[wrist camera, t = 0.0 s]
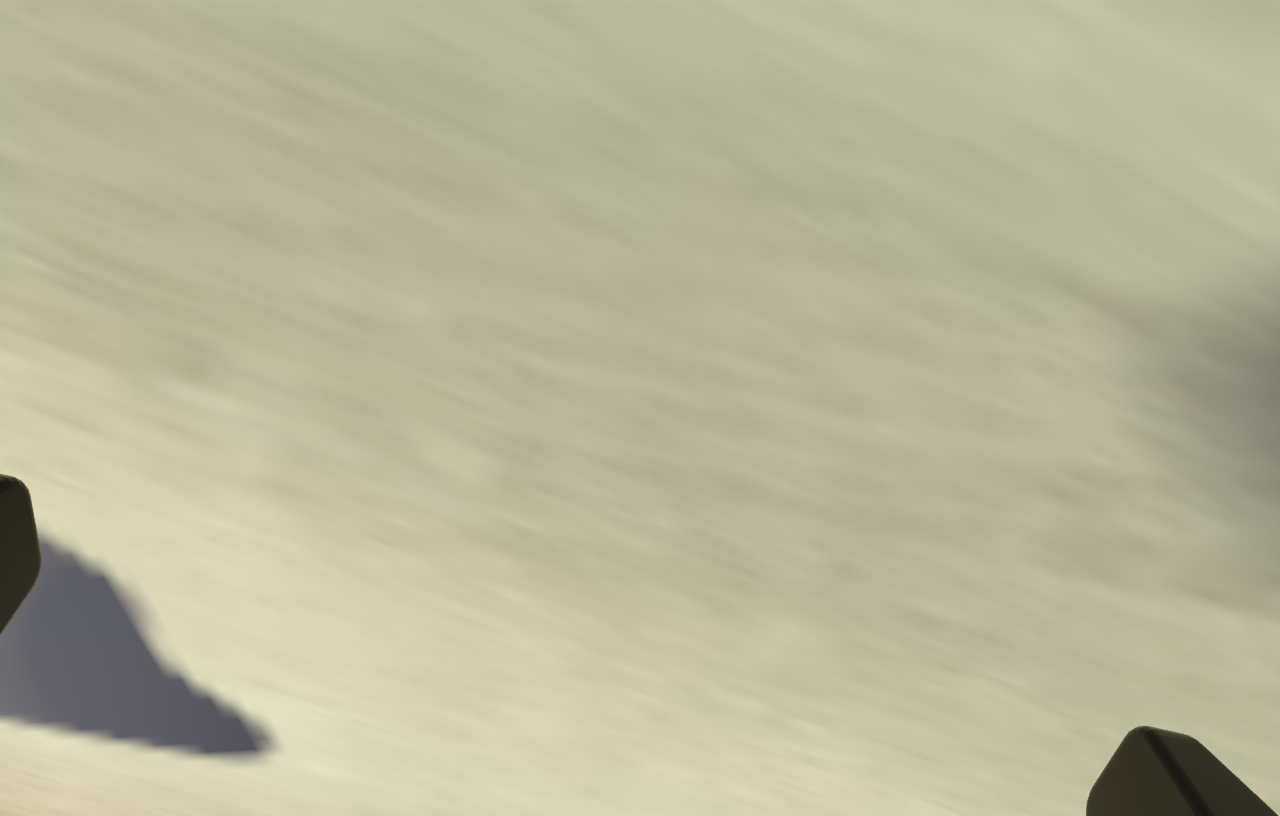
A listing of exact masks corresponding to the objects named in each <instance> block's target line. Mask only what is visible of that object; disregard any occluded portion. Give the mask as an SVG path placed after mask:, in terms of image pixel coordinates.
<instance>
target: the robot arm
mask: <svg viewBox="0 0 1280 816" xmlns="http://www.w3.org/2000/svg"><path fill="white" fill-rule="evenodd" d="M40 568H41V550H40V545H39V540H38V534H37V529H36V523H35V518H34V513H33V507H32V502H31V496H30V493H29V490H28V488H27V487H26V486H25V484H24V483H23V482H22V481H21V480H19V479H17V478H15V477H12V476H7V475H3V474H0V635H1V634H2V632H3V631H4V630H5V628H6V627H7V625H8V624H9V622H10V621H11V619H12V618H13V616H14V615H15V613H16V612H17V611H18V609H19V608H20V606H21V605H22V603H23V602H24V600H25V599H26V597H27V596H28V594H29V593H30V591H31V590H32V588H33V586H34V585H35V582H36V580H37V578H38V575H39V571H40ZM1086 816H1278V815H1277V814H1276V813H1275V812H1274V811H1273V810H1272V809H1271V808H1270V807H1269V806H1268V805H1266V804H1265V803H1264V802H1263V801H1262V800H1261V799H1260V798H1259V797H1258V796H1257V795H1256V794H1255V793H1254V792H1253V791H1251V790H1250V789H1249V788H1248V787H1247V786H1246V785H1245V784H1244V783H1243V782H1242V781H1241V780H1240V779H1239V778H1237V777H1236V776H1235V775H1234V774H1233V773H1232V772H1231V771H1230V770H1229V769H1228V768H1227V767H1226V766H1225V765H1224V764H1222V763H1221V762H1220V761H1219V760H1218V759H1217V758H1216V757H1215V756H1214V755H1213V754H1212V753H1211V752H1210V751H1209V750H1207V749H1206V748H1205V747H1204V746H1203V745H1202V744H1201V743H1200V742H1199V741H1197V740H1196V739H1194V738H1192V737H1190V736H1188V735H1185V734H1181V733H1177V732H1172V731H1168V730H1163V729H1159V728H1154V727H1149V726H1139V727H1136V728H1135V729H1133V730H1131V731H1130V732H1129V733H1128V734H1127V735H1126V736H1125V738H1124V739H1123V741H1122V742H1121V744H1120V746H1119V747H1118V749H1117V750H1116V752H1115V753H1114V755H1113V756H1112V758H1111V759H1110V761H1109V762H1108V764H1107V766H1106V767H1105V769H1104V770H1103V772H1102V773H1101V775H1100V776H1099V778H1098V779H1097V781H1096V782H1095V784H1094V786H1093V787H1092V789H1091V792H1090V794H1089V797H1088V801H1087V807H1086Z"/></svg>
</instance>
